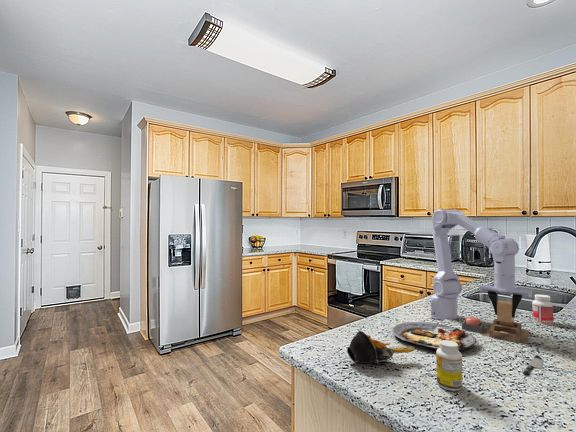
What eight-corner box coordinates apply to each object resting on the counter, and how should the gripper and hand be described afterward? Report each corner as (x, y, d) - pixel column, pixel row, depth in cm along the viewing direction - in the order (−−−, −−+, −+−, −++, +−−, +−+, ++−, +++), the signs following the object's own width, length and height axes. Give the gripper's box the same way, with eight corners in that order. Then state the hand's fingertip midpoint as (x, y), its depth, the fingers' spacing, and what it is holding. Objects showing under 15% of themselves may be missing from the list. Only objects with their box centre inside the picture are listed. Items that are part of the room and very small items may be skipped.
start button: (464, 327, 111) (464, 319, 111) (467, 324, 114) (467, 316, 114) (479, 330, 108) (479, 321, 108) (481, 326, 112) (481, 318, 112)
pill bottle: (556, 325, 117) (555, 296, 117) (550, 328, 114) (549, 298, 114) (536, 321, 123) (535, 293, 123) (529, 324, 119) (529, 295, 119)
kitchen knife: (550, 358, 91) (537, 354, 93) (550, 354, 91) (537, 350, 93) (536, 380, 78) (522, 375, 80) (536, 376, 78) (522, 371, 80)
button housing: (462, 331, 111) (461, 323, 111) (465, 327, 116) (465, 319, 116) (481, 335, 107) (481, 327, 107) (484, 330, 112) (484, 322, 112)
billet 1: (497, 320, 104) (496, 302, 104) (498, 317, 107) (498, 300, 107) (511, 322, 101) (511, 304, 101) (512, 319, 104) (512, 301, 105)
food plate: (483, 338, 104) (483, 328, 104) (465, 362, 87) (464, 350, 87) (409, 323, 121) (408, 314, 122) (381, 341, 104) (381, 331, 104)
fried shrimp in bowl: (338, 339, 92) (387, 314, 97) (355, 378, 89) (405, 349, 94) (348, 339, 83) (402, 311, 89) (368, 381, 80) (422, 350, 86)
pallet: (482, 338, 105) (482, 328, 105) (488, 325, 117) (488, 317, 117) (527, 347, 97) (527, 337, 97) (528, 332, 110) (528, 323, 110)
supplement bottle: (440, 377, 79) (439, 337, 79) (464, 385, 75) (464, 342, 75) (433, 386, 75) (433, 343, 75) (459, 395, 71) (459, 349, 71)
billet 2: (499, 329, 110) (499, 312, 110) (500, 326, 113) (500, 310, 113) (513, 332, 108) (513, 314, 108) (514, 329, 111) (514, 312, 111)
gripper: (477, 274, 106) (477, 314, 106) (531, 279, 97) (532, 323, 97) (480, 271, 111) (480, 309, 111) (532, 275, 102) (532, 317, 102)
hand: (504, 315), depth 104 cm, fingers closed on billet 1, 4 cm apart
